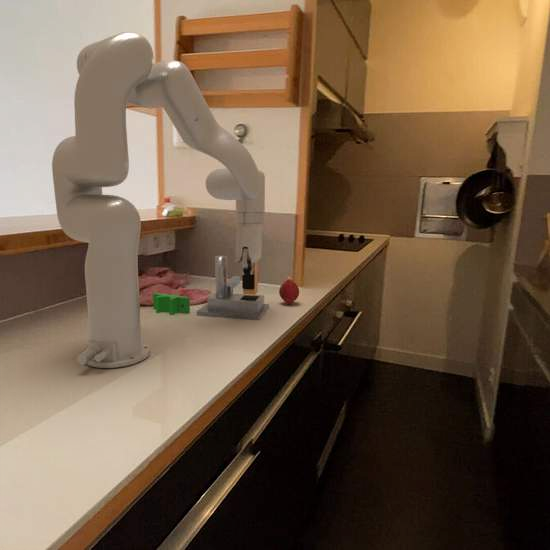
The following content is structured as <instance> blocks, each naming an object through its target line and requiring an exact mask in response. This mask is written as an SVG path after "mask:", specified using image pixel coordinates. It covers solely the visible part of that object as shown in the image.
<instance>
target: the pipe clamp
mask: <svg viewBox="0 0 550 550" xmlns="http://www.w3.org/2000/svg"><path fill="white" fill-rule="evenodd" d="M152 301H153V303H152V304H153V305H152V306H153V310H155V313H157V314H160V313H169V315H170V316H173V315H175V314H176V315H177V314H178V313H179V314H184V315H185V314H186V315H188V314H190V313H191V309H190V308H191V307H190V296H189V297H187V296H184V295H183V296H181V295H173V294H166V293H160V292H159V293H158V292H153V293H152Z"/></svg>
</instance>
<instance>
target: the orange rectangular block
mask: <svg viewBox="0 0 550 550" xmlns="http://www.w3.org/2000/svg"><path fill="white" fill-rule="evenodd" d="M248 263H251V262H250V261H248ZM248 266H250V269H251V265H248ZM253 275H255V288H254V289H253V290H249V289H243V288H242V291H243V292H242V294H248V295H257V293H258V292H259V287H258V286H259V260H258V261H256V262H255V263H254V268H253Z"/></svg>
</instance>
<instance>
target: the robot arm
mask: <svg viewBox="0 0 550 550" xmlns="http://www.w3.org/2000/svg"><path fill="white" fill-rule="evenodd" d="M76 58H77V59H76V69H77V72H78V74H79V75H78V79H77V81H76V84H75V90H74V97H73V100H74V104H73V105H74V106H73V107H74V128H75V133H74V135H72V136H69V137H66V138H64V139H63V140H62V141H60V142H59V143H58V144H57V146H56V147H55V150H54V152H53V155H52V161H51V163H52V164H51V169H52V180H53V189H54V198H55V207H56V215H57V219H58V224H59V226H60V228H61V229H62V231H63V232H64V234H65V235H66V236H67V237H69V238H70V239H72V240H74V241H76V242H82V243H88V247H87V250H86V255H85V260H84V261H85V262H84V279H85V280H84V281H85V291H86V292H85V293H86V302H87V303H86V304H87V317H88V331H89V341H88V342H87V345H88V348H86V349H85V350H84V351H83V352H82V353H80V354H78V355H77V357H76V361H77V363H78V364H79V365H82V366H83V365H87V366H90V367H93V368H99V369H115V368H116V369H117V368H122V367H127V366H131V365H135V364H137V363H139V362H142V361H144V360H145V359H147V358H148V357H149V355H150V353H151V348H150V346H149V344H148V343H147V342H144V341H142V327H141V325H142V324H141V308H140V307H141V306H140V289H139V288H140V285H139V269H138V268H139V267H138V265H139V264H138V261H139V259H138V255H139V242H140V238H141V237H140V236H141V228H142V227H141V226H142V223H141V216H140V213H139V211H138V209H137V208H136V207H135V205H134V203H132V202H131V201H129V199H127V198H124V197H121V196H119V195H114V194H103V188H110V187H116V186H119V185H121V184H122V183H124V182H125V180H127V178H128V175H129V171H130V170H129V169H130V160H129V159H130V158H129V147H128V134H127V133H128V131H127V105H128V104H130V105H132V106H135V107H139V108H142V109H143V108H144V109H157V108H158V109H159V108H163V110H164V111H165V114H167V116H168V118H169V120H170V121H171V123H172V125H173V126H174V128H175V130H176V131H177V133H178V135H179V136H180V138H181V139H182V141H183V143H185V145H187V146H188V147H190V148H191V149H193V150H196V151H197V152H200V153H202V154H205V155H208V156H210V157H211V158H213V159H215V160H217V161H218V162H220V163H221V164H222V165H223V166H224V167H225V168H218V169H214V170H212V171H211V172H210V173H209V174H208V175H207V177H206V178H205V190H206V191H207V192H208V194H209V195H210V196H211V197H212V198H215V199H217V200H222V201H223V200H224V201H235V225H237V228H236V241H235V245H236V246H235V262H236V263H237V264H240V263H241V275H242V276H241V279H242V281H241V283H242V284H241V285H242V286H241V288H242V290H243V289H249V290H253V289H254V288H255V275H253V268H254V263H255V262H256V261H258V262H259V260H260V259H261V258H262V255H263V254H262V251H263V250H262V247H263V243H262V242H263V241H262V234H263V233H262V226H265V220H266V219H265V217H266V216H265V215H266V214H265V207H266V205H265V203H266V202H265V201H266V199H265V198H266V193H265V192H266V191H265V190H266V177H265V173H264V172H263V171H261V170H259V169H258V166H257V164H256V162H255V160H254V158H253V156H252V155H251V153H250V151H249V150H248V149H247V148H246V146H245V145H244V144H242V143H241V141H239V140H238V139H237V138H236V137H235V136H233V134H231V133H230V132H229V131H227V130H226V129H225V128H224V127H222V126H221V125H220V124H219V123H218V121H217V120H216V119H215V116H214V115H213V113H212V111H211V109H210V107H209V106H208V103H207V102H206V100H205V99H206V98H205V97H204V95H203V94H202V91H201V90H200V87H199V86H198V84H197V82H196V81H195V78H194V76H193V74H192V73H191V70H190V69H189V68H188V66H187V65H186V64H185V63H183V62H181V61H178V60H175V59H167V60H163V61H162V60H161V61H159V62H155V63H154V59H155V57H154V51H153V48H152V45H151V43H150V42H149V41H148V39H147V38H146V37H145V36H144V35H141V34H140V33H137V32H132V31H126V32H121V33H117V34H114V35H112V36H109V37H106V38H104V39H102V40H98V41H96V42H93V43H91V44H88V45H86V46H85V47H83V48H82V49H81V50H80V52H79V54H78V55H77V57H76ZM248 261H250V262H251V263H248ZM248 265H251V269H250V266H248Z"/></svg>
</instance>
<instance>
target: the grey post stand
mask: <svg viewBox="0 0 550 550" xmlns="http://www.w3.org/2000/svg"><path fill="white" fill-rule="evenodd" d="M214 260H215V262H214V266H215V267H214V270H215V273H214V275H215V276H214V277H215V278H214V279H215V292H214V293H212V294H211V295H210V296H208V297H207V298H206V299H207V301H206V302H207V303H205V304H204V305H203V306H202V307H200V308H199V309H198V310H197V311H196V312H195V313H196V314H195V315H196V316H204V317H214V318H215V317H219V318H228V319H229V318H230V319H244V320H254V321H260V319H261V318H262V317H263V316H264V314H265V313H266V312H267V310H269V308H270V307H269V306H270V305H269V303H265V295H262V294H261V295H260V294H255V295H253V294H243V293H234V288H235V287H237V286H238V285H239V284H241V275H239V276H238V275H233V276H232V277H231V278H229V279H228V256H227V255H216V256H215V257H214ZM265 311H266V312H265Z"/></svg>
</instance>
